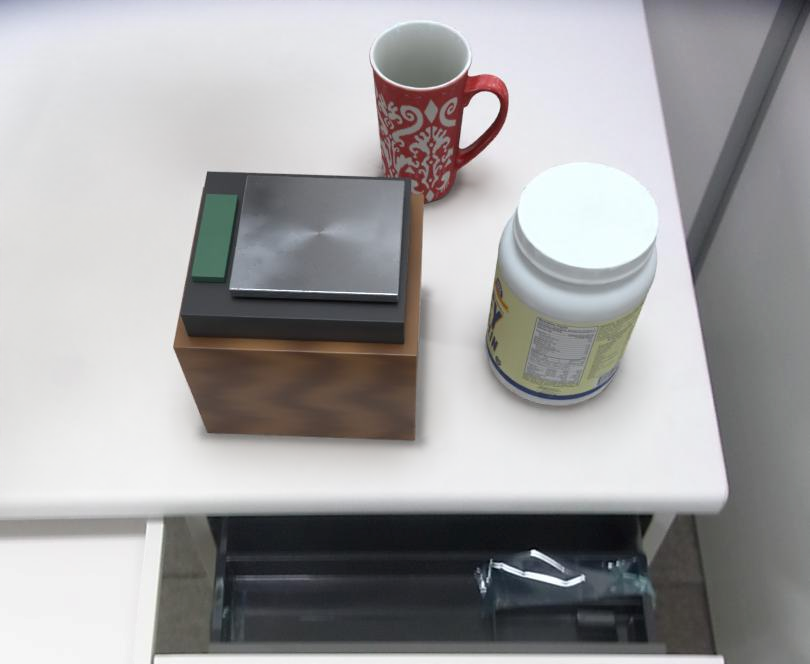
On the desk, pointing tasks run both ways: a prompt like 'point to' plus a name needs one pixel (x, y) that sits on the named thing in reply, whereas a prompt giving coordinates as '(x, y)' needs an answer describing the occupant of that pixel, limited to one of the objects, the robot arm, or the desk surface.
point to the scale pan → (319, 239)
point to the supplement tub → (571, 282)
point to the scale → (276, 317)
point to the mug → (428, 103)
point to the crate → (310, 375)
